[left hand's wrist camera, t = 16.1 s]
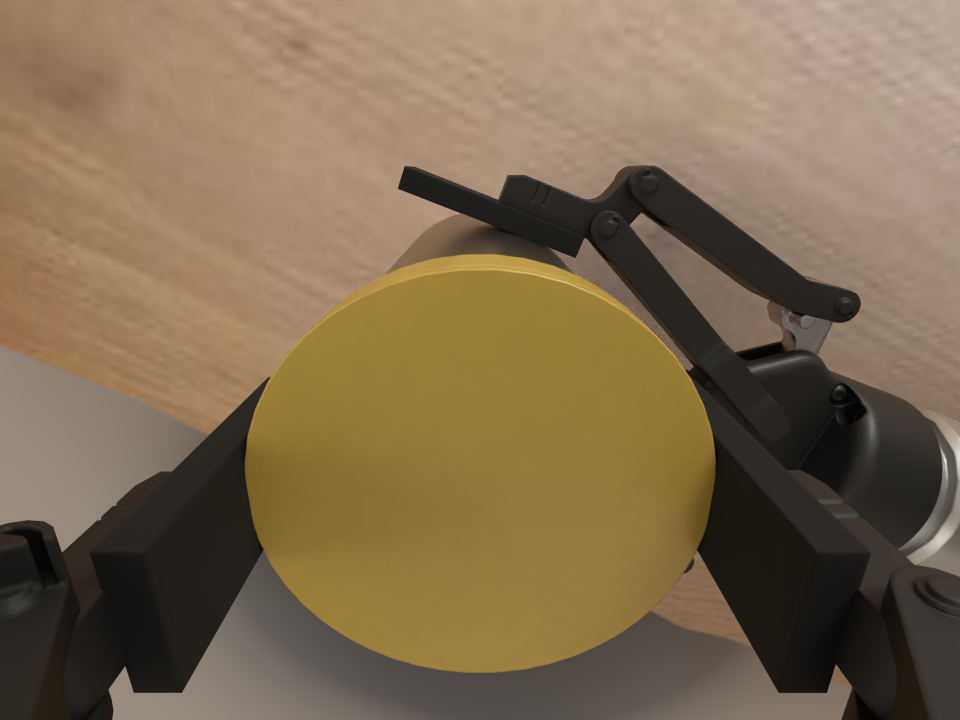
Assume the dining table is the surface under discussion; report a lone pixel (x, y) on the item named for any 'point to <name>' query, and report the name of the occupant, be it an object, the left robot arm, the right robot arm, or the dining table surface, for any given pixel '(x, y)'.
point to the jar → (474, 243)
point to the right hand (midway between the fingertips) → (368, 299)
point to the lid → (480, 466)
